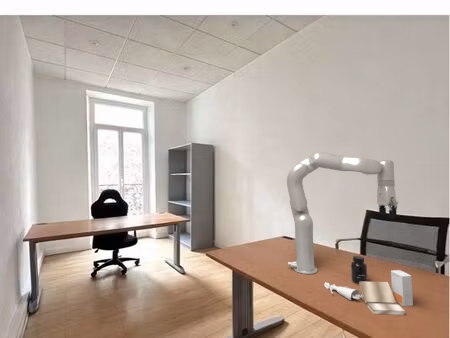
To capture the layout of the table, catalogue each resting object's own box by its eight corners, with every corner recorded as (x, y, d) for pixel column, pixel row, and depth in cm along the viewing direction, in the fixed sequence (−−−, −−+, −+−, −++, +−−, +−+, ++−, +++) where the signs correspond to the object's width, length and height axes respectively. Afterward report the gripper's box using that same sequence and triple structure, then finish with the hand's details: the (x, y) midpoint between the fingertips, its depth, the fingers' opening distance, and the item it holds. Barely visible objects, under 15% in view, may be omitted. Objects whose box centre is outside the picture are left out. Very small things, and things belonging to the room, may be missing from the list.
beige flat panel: (365, 302, 98) (366, 301, 98) (359, 282, 104) (359, 281, 103) (394, 304, 97) (396, 302, 96) (386, 283, 103) (387, 282, 102)
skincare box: (391, 299, 102) (390, 270, 102) (401, 298, 102) (399, 269, 102) (403, 306, 96) (401, 276, 96) (413, 306, 96) (411, 275, 96)
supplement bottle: (361, 286, 114) (360, 260, 115) (348, 280, 120) (347, 256, 121) (370, 282, 117) (369, 257, 118) (357, 277, 124) (356, 254, 124)
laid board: (373, 313, 92) (373, 309, 92) (367, 306, 97) (367, 302, 97) (405, 315, 90) (405, 310, 90) (397, 307, 95) (397, 303, 95)
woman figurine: (351, 295, 97) (315, 282, 113) (352, 307, 97) (316, 292, 113) (368, 288, 103) (332, 276, 119) (370, 299, 102) (333, 286, 118)
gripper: (370, 183, 137) (372, 213, 137) (387, 184, 120) (389, 219, 119) (384, 183, 136) (386, 213, 136) (403, 184, 119) (405, 219, 119)
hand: (387, 216), depth 128 cm, fingers open, 9 cm apart
